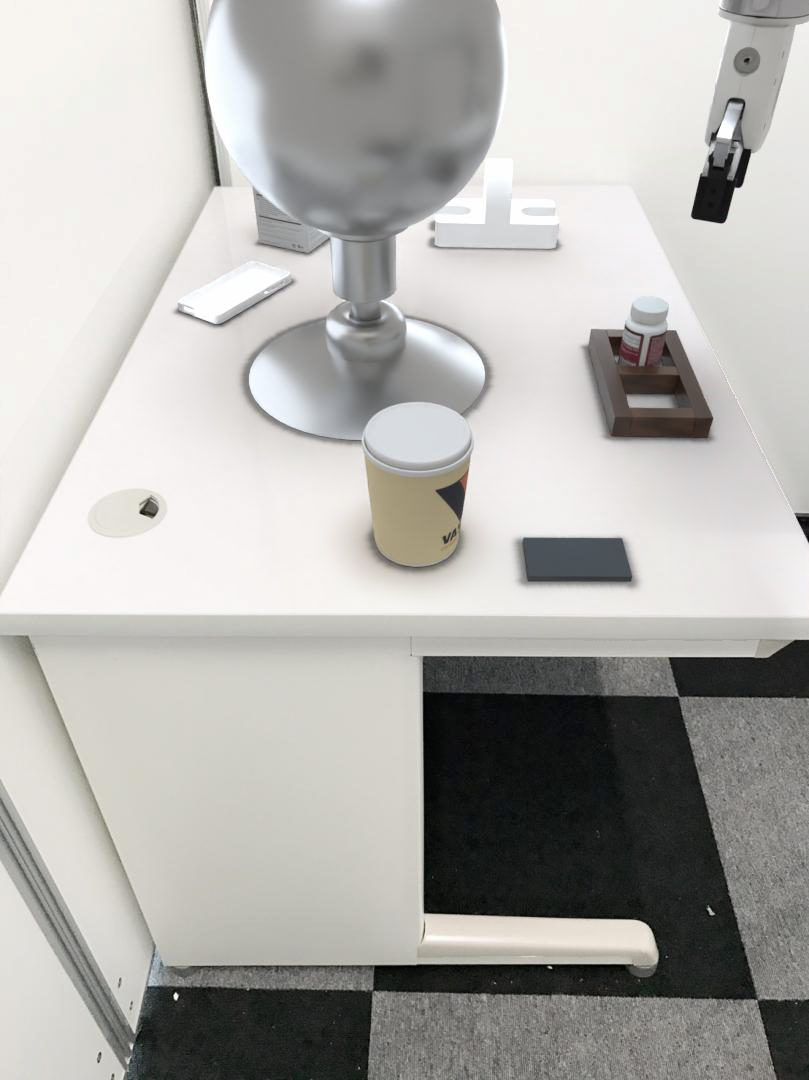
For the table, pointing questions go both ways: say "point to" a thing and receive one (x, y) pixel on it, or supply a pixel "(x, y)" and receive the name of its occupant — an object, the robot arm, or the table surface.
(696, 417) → the rack
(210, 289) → the phone case
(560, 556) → the pad
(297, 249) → the white product box
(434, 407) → the coffee cup
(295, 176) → the silver goblet
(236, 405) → the table surface
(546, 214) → the white stand
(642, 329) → the pill bottle
